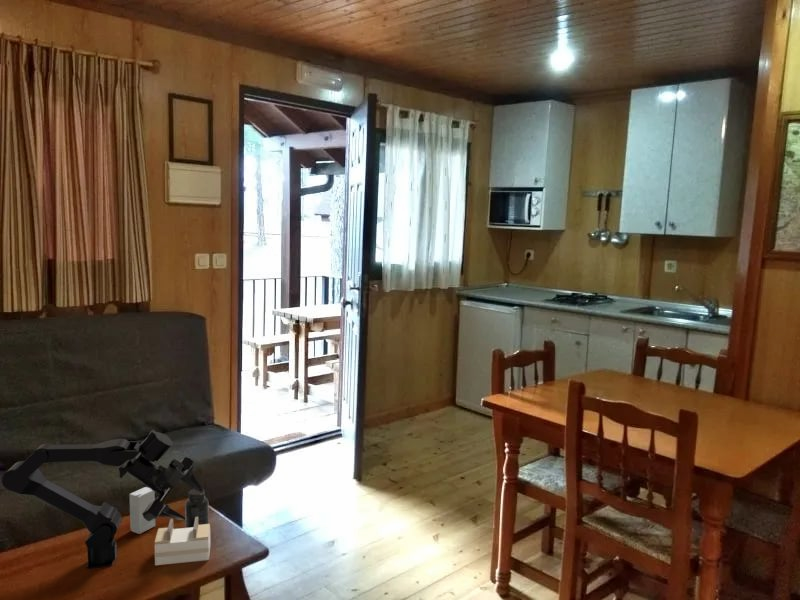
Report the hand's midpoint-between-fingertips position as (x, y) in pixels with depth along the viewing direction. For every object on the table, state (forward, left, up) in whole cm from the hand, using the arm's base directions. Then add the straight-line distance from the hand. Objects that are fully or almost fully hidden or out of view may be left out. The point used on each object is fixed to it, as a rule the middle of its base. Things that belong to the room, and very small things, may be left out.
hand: (193, 505), depth 173 cm
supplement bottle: (0, +15, -14) cm, 20 cm away
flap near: (-8, 0, -8) cm, 11 cm away
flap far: (+2, 0, -8) cm, 8 cm away
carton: (-3, 0, -14) cm, 15 cm away
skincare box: (-16, +18, -14) cm, 28 cm away
